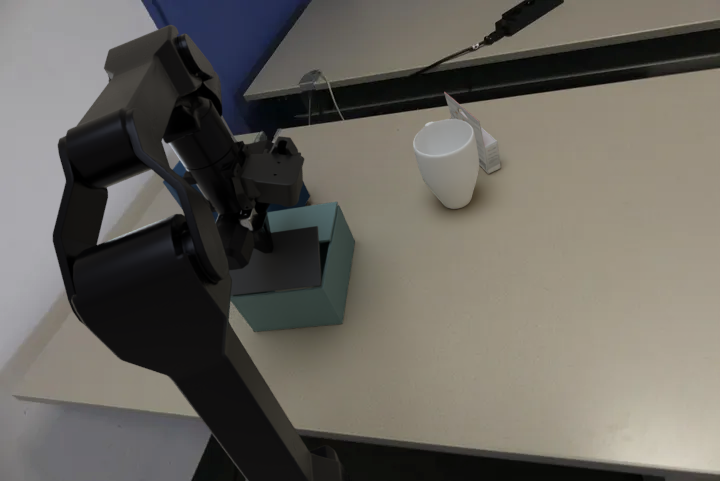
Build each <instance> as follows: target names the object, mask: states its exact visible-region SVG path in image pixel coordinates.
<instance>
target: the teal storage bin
mask: <svg viewBox="0 0 720 481" xmlns="http://www.w3.org/2000/svg"><path fill="white" fill-rule="evenodd" d="M267 213H268V220H269V225H270V231H271V233H272V232H279V231H286V230H293V229H299V228H306V227H313V226H318V234H319V250H320V267H321V284H322V285H321V287H315V288H306V289H297V290H288V291H279V292H275V291H267V292H258V293H249V294H240V295H231V301H230V303H231V304H232V305H233V306H234V307H235V309H236V310H237V311H238V313H239V314H240V315H241V316H242V318H243V319H244V321H245V322H246V323H247V324H248V325H249V327H250V329H251V330H252V331H253V332H255V333H256V332H267V331H277V330H279V331H280V330H289V329H299V328H300V329H301V328H311V327H312V328H313V327H322V326H334V325H335V326H336V325H342V324H343V322H344V316H345V310H346V303H347V296H348V290H349V284H350V283H349V282H350V278H351V277H350V276H351V270H352V263H353V258H354V250H355V244H356V240H355V238H354V236H353V233H352V231H351V228H350V226H349V224H348V221H347V220H346V217H345V215H344V212H343V210H342V208H341V206H340V205H339V203H338V201H331V202H325V203H318V204H312V205H305V207H299V208H293V209H286V210H280V211H274V212H267Z"/></svg>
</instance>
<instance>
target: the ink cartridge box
mask: <svg viewBox="0 0 720 481" xmlns="http://www.w3.org/2000/svg"><path fill="white" fill-rule="evenodd" d="M443 93H444V97H445V100H446V103H447V107H448V110H449V113H450V119H458V120H462V121H465V122H467V123H468V124H470V125H471V127H472V128H473V130H474V133H475V138H476V144H477V150H478V156H479V167H480V168H482V169H483V170H484V171H485V172H486V173H487V175H490V174H491V173H493V172H495V171H497V170H500V169H501V159H500V150H499V142H498V140H496V139H495V138H494V137H493V135H492V134H490V133H489V132H488V131H486V130H485V129H484V128H483V127H482V126H481V121H480V120H479V119H477V117H475V115H473V114H472V113H471V112H469V111H468V110H467V109H466V108H465V107H464V106H462V105H461V104H460V103H459V102H457V100H456V99H455V98H453V97H452V96H451V95H449V94H448V93H447V92H446V91H444V92H443ZM460 110H461V111H460Z"/></svg>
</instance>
